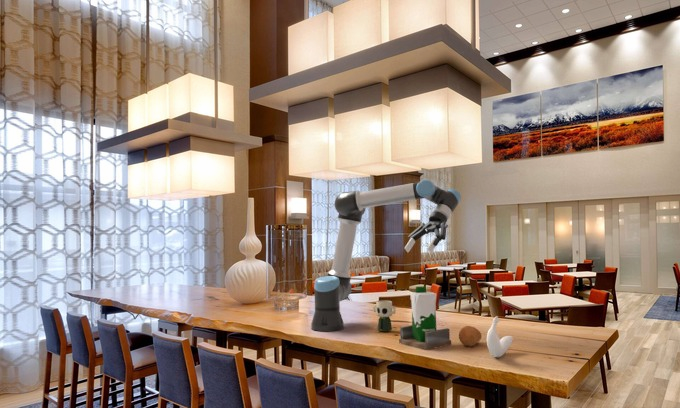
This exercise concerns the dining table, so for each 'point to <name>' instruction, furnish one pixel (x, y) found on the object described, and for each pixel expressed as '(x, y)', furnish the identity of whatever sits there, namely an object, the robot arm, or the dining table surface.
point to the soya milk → (423, 313)
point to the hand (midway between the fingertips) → (417, 250)
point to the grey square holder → (431, 338)
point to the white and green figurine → (384, 314)
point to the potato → (469, 336)
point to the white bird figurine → (497, 341)
